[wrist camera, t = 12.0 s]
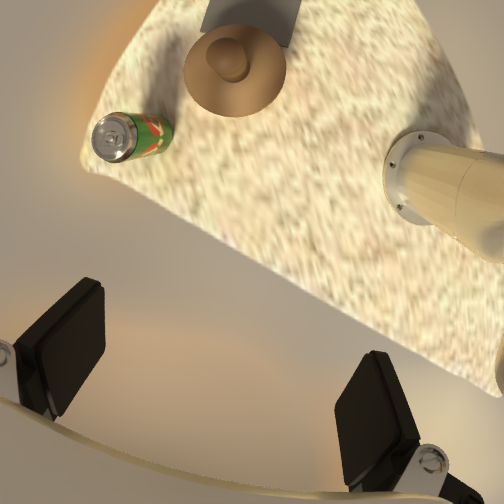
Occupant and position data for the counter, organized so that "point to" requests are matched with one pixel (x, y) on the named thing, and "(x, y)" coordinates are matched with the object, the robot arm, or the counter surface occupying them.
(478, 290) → the counter surface
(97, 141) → the soda can
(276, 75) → the lid
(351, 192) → the counter surface
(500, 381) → the robot arm
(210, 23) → the mat
